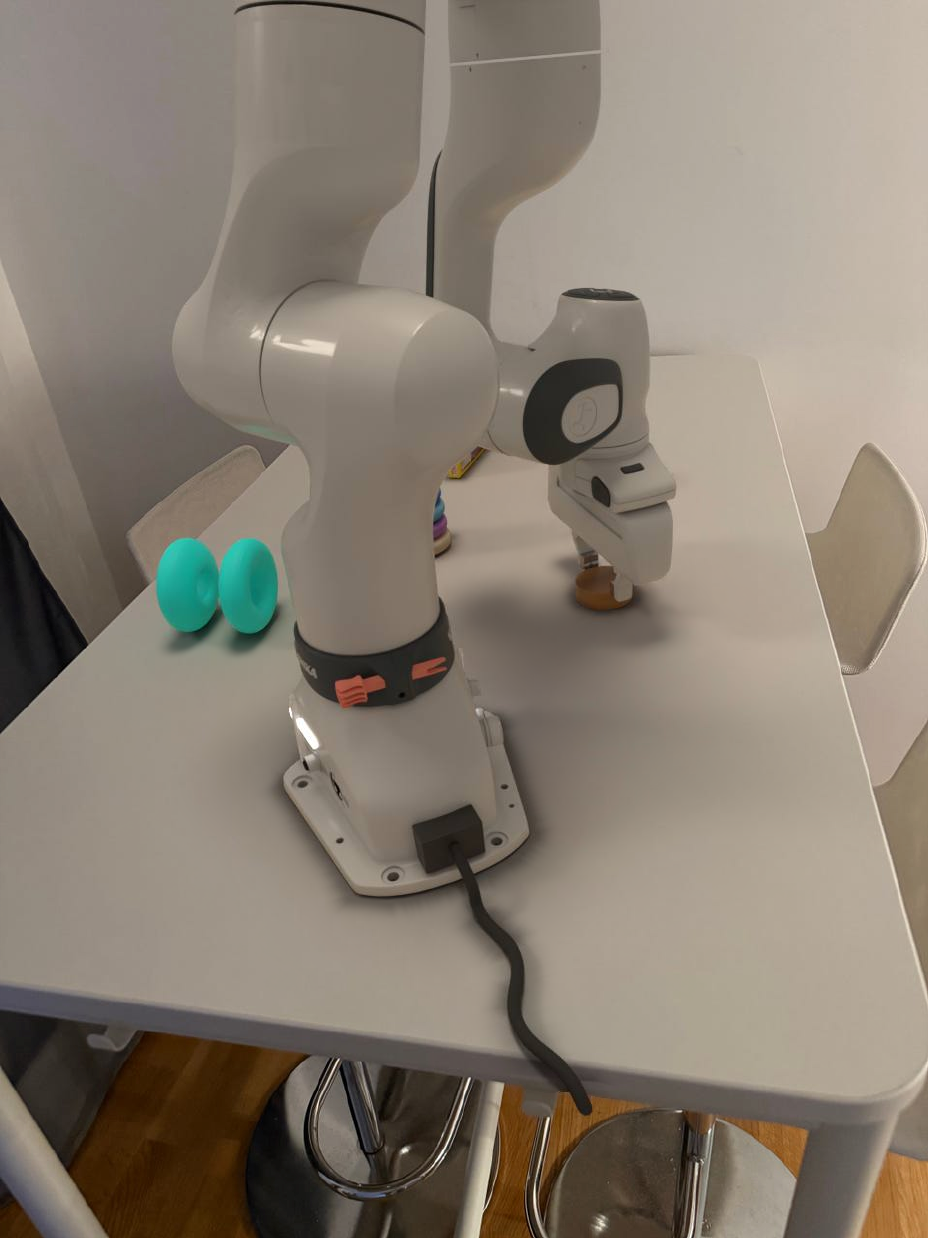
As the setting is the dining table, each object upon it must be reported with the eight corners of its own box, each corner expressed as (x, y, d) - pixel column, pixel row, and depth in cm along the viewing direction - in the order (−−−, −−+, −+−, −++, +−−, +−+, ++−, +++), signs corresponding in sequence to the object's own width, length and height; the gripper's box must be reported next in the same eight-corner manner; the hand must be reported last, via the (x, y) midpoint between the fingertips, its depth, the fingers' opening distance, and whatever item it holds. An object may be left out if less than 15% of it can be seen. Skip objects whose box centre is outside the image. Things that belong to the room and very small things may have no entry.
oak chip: (643, 601, 96) (643, 584, 95) (591, 615, 94) (591, 599, 93) (615, 576, 101) (615, 560, 100) (566, 589, 99) (565, 573, 98)
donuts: (255, 652, 94) (234, 567, 89) (167, 649, 96) (140, 566, 91) (288, 601, 102) (270, 521, 97) (206, 600, 104) (184, 521, 99)
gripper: (530, 433, 97) (536, 548, 104) (624, 504, 80) (624, 636, 88) (583, 421, 99) (586, 535, 106) (687, 488, 82) (681, 619, 89)
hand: (604, 582), depth 97 cm, fingers closed on oak chip, 6 cm apart
